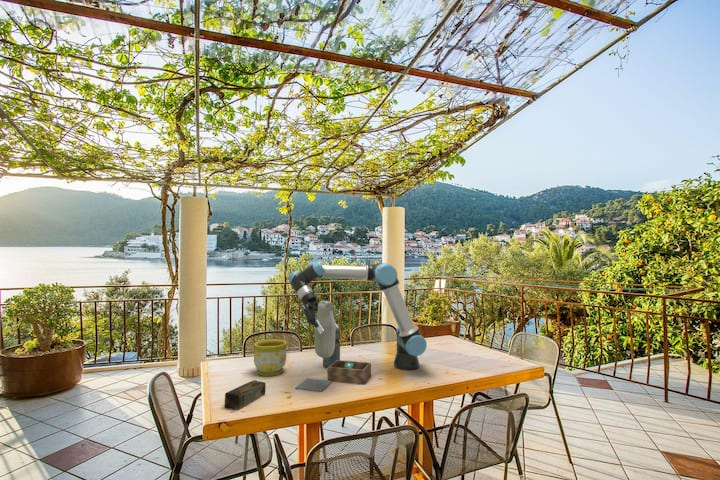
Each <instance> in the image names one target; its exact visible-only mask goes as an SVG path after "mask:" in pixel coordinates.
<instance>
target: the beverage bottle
mask: <svg viewBox="0 0 720 480" xmlns="http://www.w3.org/2000/svg"><path fill="white" fill-rule="evenodd" d="M340 339H341V328H340V327H338V328H337V329H336V333H335V350H334V353H333V355H332V356H330V357H328V358H322V366H323V368H325V369H327V367H328V366H330V365H331V364H332V363H333V362H335V361H336V360H341V341H340Z"/></svg>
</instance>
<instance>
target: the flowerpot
mask: <svg viewBox="0 0 720 480" xmlns="http://www.w3.org/2000/svg"><path fill="white" fill-rule="evenodd" d="M287 344H288V343H287V341H286V340H284V339H275V338H274V339H264V340H259V341H257V342H254V343H253V347H254V353H253V354H254V355H253V363H254V366H255V368H256V372H257V373H258V375H260V376H264V377H273V376H277V375H280V374H281V373H282V372H283V370H284V366H285V364H286V363H287V362H286V361H287Z"/></svg>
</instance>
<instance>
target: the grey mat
mask: <svg viewBox="0 0 720 480" xmlns="http://www.w3.org/2000/svg"><path fill="white" fill-rule="evenodd" d="M332 383H333V381H328V380H327V379H318V378H317V379H316V378H306V379H304V380H303V381H302V382H300V383H299V384H298V385H297V386H296V387H295V389H296V390H302V391H311V392H312V391H313V392H320V393H322V392H323V391H325V390H326V389H327V388H328V387H329V386H330V385H331V384H332Z"/></svg>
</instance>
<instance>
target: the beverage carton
mask: <svg viewBox="0 0 720 480" xmlns="http://www.w3.org/2000/svg"><path fill="white" fill-rule="evenodd" d="M265 395H266V382H265V381H260V380H259V381H258V380H256V379H253V380H251V381H249V382H246V383H244V384H242V385H239V386H238V387H235V388H233V389H231V390H229V391H226V392H225V394H224V408H227V409H231V408H232V409H231V410H235V409H237V410H236V411H239V410H240V408H241V409H242V408H244V407H246V406H248V405H249V404H252V403H253V402H255V401H257V400H258V399H260V398H261V396H262V397H264V396H265ZM254 400H255V401H254ZM247 404H248V405H247ZM238 409H239V410H238Z"/></svg>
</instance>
